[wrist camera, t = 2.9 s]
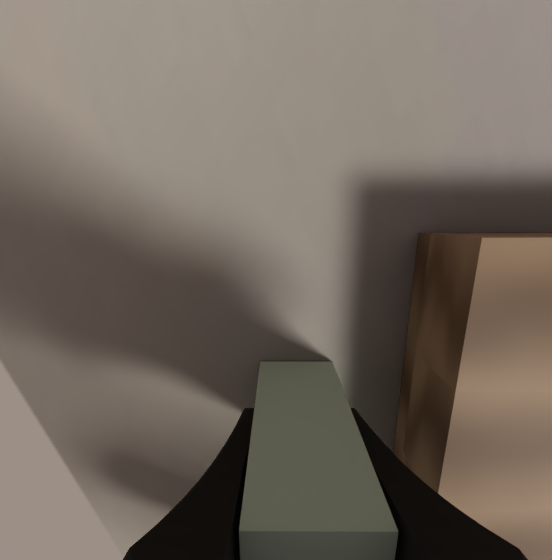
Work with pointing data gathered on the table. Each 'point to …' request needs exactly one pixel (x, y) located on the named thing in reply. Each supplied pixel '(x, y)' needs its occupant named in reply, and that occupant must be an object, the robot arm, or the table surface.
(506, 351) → the socket block
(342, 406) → the peg
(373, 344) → the table surface
